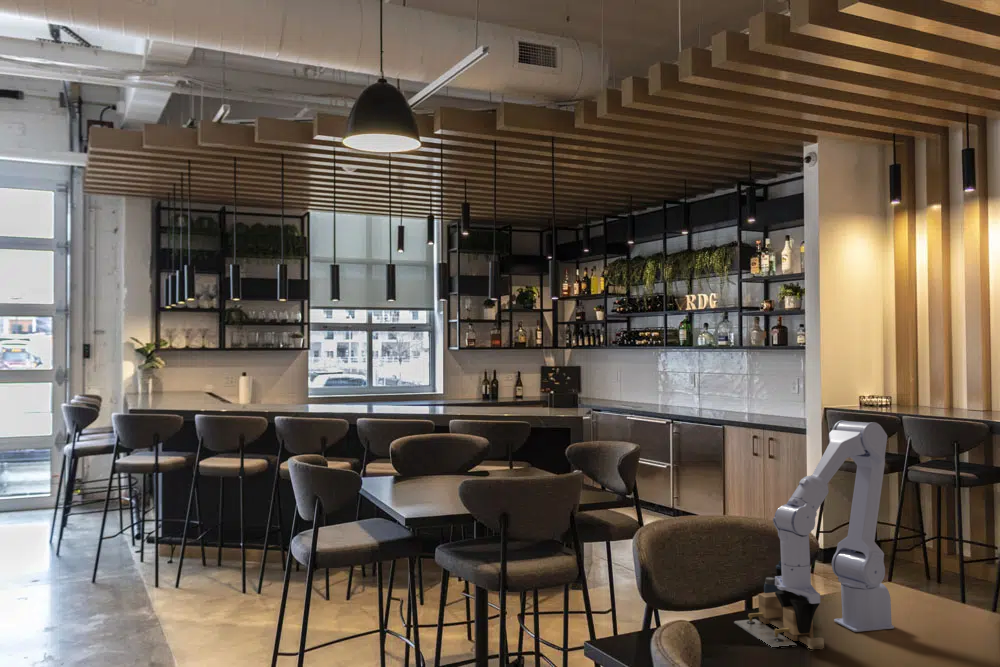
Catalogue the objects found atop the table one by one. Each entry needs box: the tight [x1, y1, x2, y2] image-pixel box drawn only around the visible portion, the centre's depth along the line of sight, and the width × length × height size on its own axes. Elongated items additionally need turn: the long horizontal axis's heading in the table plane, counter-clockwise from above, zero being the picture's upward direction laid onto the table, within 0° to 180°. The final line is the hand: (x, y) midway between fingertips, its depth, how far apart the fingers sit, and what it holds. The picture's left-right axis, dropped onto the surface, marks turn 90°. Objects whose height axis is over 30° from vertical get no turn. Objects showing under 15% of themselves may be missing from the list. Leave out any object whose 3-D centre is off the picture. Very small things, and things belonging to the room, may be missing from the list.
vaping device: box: [763, 560, 782, 593], centre depth 189 cm, size 3×5×12 cm, turn 78°
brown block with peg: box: [773, 606, 814, 642], centre depth 172 cm, size 8×4×6 cm, turn 101°
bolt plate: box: [733, 618, 797, 648], centre depth 176 cm, size 5×17×1 cm, turn 11°
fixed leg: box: [747, 592, 783, 625], centre depth 183 cm, size 8×3×6 cm, turn 101°
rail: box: [768, 618, 825, 649], centre depth 176 cm, size 3×22×2 cm, turn 11°
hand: (798, 629), depth 172 cm, fingers closed on brown block with peg, 4 cm apart
